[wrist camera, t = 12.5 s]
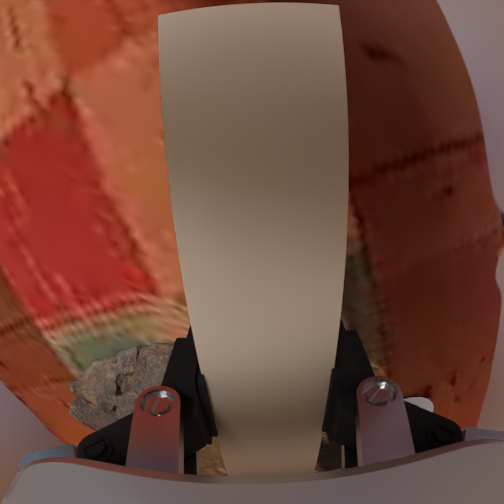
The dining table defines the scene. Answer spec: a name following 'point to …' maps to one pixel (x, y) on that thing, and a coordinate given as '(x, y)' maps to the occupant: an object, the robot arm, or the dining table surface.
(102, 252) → the dining table surface
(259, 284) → the mottled beige bar
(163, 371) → the grey rock
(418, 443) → the robot arm
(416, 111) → the dining table surface
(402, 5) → the dining table surface
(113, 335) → the dining table surface
